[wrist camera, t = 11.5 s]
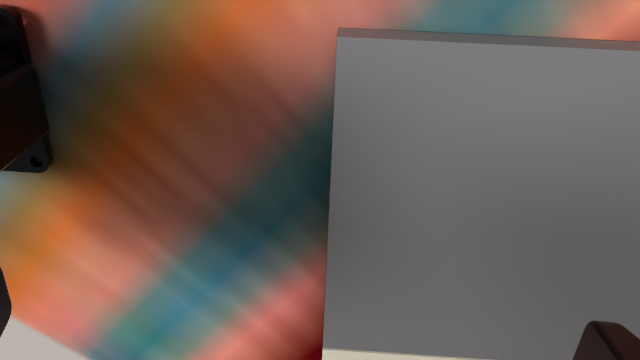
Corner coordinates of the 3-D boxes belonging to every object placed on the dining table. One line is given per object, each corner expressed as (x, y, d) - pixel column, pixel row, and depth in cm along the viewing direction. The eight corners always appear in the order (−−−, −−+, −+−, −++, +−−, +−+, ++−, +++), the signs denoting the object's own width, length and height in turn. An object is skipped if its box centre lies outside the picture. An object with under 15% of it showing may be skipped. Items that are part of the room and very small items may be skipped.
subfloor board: (320, 414, 29) (318, 436, 28) (338, 27, 19) (336, 37, 18) (653, 438, 28) (666, 462, 27) (846, 51, 19) (878, 63, 18)
